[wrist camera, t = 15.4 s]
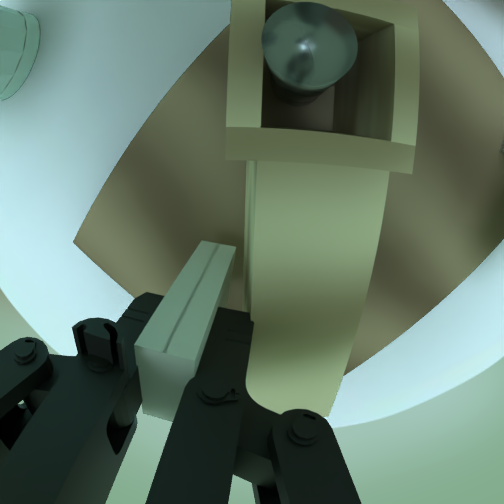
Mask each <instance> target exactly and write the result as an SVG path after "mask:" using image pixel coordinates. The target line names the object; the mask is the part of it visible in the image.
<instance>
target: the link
mask: <svg viewBox="0 0 504 504" xmlns="http://www.w3.org/2000/svg"><path fill="white" fill-rule="evenodd" d="M297 2H314V3H319V4H323V5H326V6H328V7H330V8H332V9H334V10H336V11H337V12H338V13H340V14H341V15H342V16H343V17H344V18H346V20H347V21H348V22H349V23H350V25H351V26H352V28H353V30H354V32H355V34H356V37H357V42H358V52H357V57H356V60H355V62H354V64H353V66H352V67H351V69H350V70H349V71H348V72H347V73H346V74H345V75H343V76H342V77H341V78H340V79H339V80H338V81H336V82H335V97H334V116H333V131H324V130H314V129H302V128H289V127H273V126H261V107H262V81H263V55H264V52H263V48H262V43H261V36H262V31H263V28H264V25H265V23H266V21H267V20H268V19H269V17H270V16H271V15H272V14H273V13H274V12H275V11H277V10H278V9H280V8H282V7H283V6H286V5H288V4H292V3H297ZM419 82H420V53H419V28H418V14H417V9H415V8H413V7H410V6H407V5H405V4H402V3H399V2H396V1H393V0H231V17H230V35H229V56H228V80H227V108H226V146H225V160H247V162H246V194H245V228H244V264H243V305H242V311H244V312H249V313H250V319H251V321H253V322H254V328H253V335H252V342H251V348H250V355H249V362H248V368H247V375H246V388H247V391H248V393H249V395H250V396H251V398H252V399H253V400H254V401H255V402H257V403H258V404H259V405H261V406H263V407H265V408H266V409H269V410H271V411H274V412H276V413H278V414H282V413H283V412H285V411H288V410H292V409H308V410H310V411H313V412H316V413H318V414H319V415H321V416H322V417H327V416H329V414H330V411H331V408H332V406H333V403H334V400H335V398H336V395H337V392H338V389H339V386H340V383H341V381H342V378H343V375H344V372H345V369H346V366H347V362H348V359H349V356H350V353H351V350H352V346H353V343H354V340H355V336H356V333H357V329H358V326H359V322H360V319H361V315H362V311H363V307H364V304H365V300H366V296H367V292H368V288H369V283H370V279H371V275H372V270H373V266H374V261H375V256H376V252H377V247H378V242H379V236H380V231H381V226H382V220H383V214H384V208H385V201H386V195H387V188H388V181H389V173H390V171H392V172H399V173H406V174H412V172H413V164H414V156H415V146H416V136H417V124H418V109H419Z"/></svg>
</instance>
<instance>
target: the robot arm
mask: <svg viewBox="0 0 504 504" xmlns="http://www.w3.org/2000/svg"><path fill="white" fill-rule="evenodd" d="M235 251H236V247H234V246H229V245H223V244H218V243H213V242H207V241H201V242H200V244H199V245H198V247H197V248H196V250H195V251H194V253H193V254H192V256H191V257H190V259H189V260H188V262H187V263H186V265H185V266H184V268H183V269H182V271H181V272H180V274H179V275H178V277H177V278H176V280H175V281H174V283H173V284H172V286H171V287H170V289H169V290H168V292H167V293H166V295H165V296H163V295H158V294H154V293H150V292H145V293H144V294H142V295H140V296H138V297H136V298H135V299H134V300H133V301H132V303H131V304H130V305H129V307H128V309H126V310H125V312H124V313H123V314H122V317H120V318H119V320H118V321H117V322H116V323H115V322H113V321H111V320H109V319H104V318H89V319H86V320H83V321H80V322H78V323H77V324H76V325H74V326H73V327H72V330H73V334H74V339H75V343H76V347H77V351H78V354H77V356H63V355H54V354H49V352H48V349H47V346H46V345H45V344H44V342H43V341H41V340H39V339H37V338H32V337H25V338H20V339H18V340H16V341H14V342H12V343H10V344H9V345H8V346H6V347H5V348H3V349H2V350H0V504H105V503H106V500H107V498H108V495H109V493H110V490H111V488H112V486H113V483H114V481H115V478H116V475H117V473H118V471H119V468H120V466H121V463H122V461H123V459H124V457H125V454H126V452H127V449H128V447H129V444H130V442H131V440H132V438H133V435H134V433H135V431H136V428H137V418H136V414H137V412H138V410H139V408H140V405H141V403H142V409H143V413H144V414H147V415H151V416H154V417H158V418H161V419H165V420H168V421H172V422H173V423H172V426H171V429H170V432H169V435H168V438H167V440H166V443H165V446H164V449H163V453H162V455H161V458H160V461H159V464H158V467H157V470H156V473H155V476H154V479H153V482H152V485H151V488H150V491H149V494H148V498H147V501H146V503H145V504H228V501H229V494H230V487H231V482H232V475H233V474H234V475H236V476H238V477H240V478H242V479H244V480H247V481H249V482H251V483H252V487H253V492H254V498H255V503H256V504H361V501H360V499H359V496H358V493H357V491H356V488H355V486H354V483H353V481H352V478H351V476H350V473H349V470H348V468H347V465H346V463H345V460H344V458H343V455H342V453H341V450H340V447H339V445H338V443H337V440H336V438H335V435H334V432H333V430H332V428H331V426H330V425H329V423H328V422H327V420H326V419H325V418H323V417H322V416H321V415H319V414H318V413H316V412H313V411H310V410H308V409H292V410H288V411H285V412H283V413H282V414H278V413H276V412H274V411H271V410H269V409H266V408H265V407H263V406H261V405H259V404H258V403H257V402H255V401H254V400H253V399H252V398H251V396H250V395H249V393H248V391H247V388H246V375H247V368H248V362H249V355H250V348H251V342H252V335H253V328H254V322H253V321H251V319H250V313H249V312H244V311H238V310H233V309H228V308H226V307H227V304H228V298H229V291H230V284H231V278H232V271H233V264H234V258H235ZM22 400H23V401H24V403H23V404H18V403H19V402H21V401H22Z"/></svg>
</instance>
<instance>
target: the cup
mask: <svg viewBox="0 0 504 504" xmlns="http://www.w3.org/2000/svg"><path fill="white" fill-rule="evenodd" d="M39 40H40V27H39V23H38V21H37V19H36V17H35V16H33V15H32V14H29V13H24V12H20V11H16V10H13V9H10V8H7V7H3V6H0V100H4V99H7V98H9V97H10V96H12V95H13V94H14V93H15V92H16V91H17V90H18V89H19V88H20V87H21V85H22V84H23V83H24V81H25V79H26V78H27V76H28V74H29V72H30V70H31V68H32V66H33V63H34V61H35V58H36V55H37V51H38V47H39Z"/></svg>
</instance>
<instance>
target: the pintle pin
mask: <svg viewBox="0 0 504 504" xmlns="http://www.w3.org/2000/svg"><path fill="white" fill-rule="evenodd" d="M261 43H262V48H263V52H264V55H265V59H266V62H267V65H268V69H269V72H270V76H271V79H272V83H273V87H274V90H275V92H276V94H277V96H278V97H279V98H280V99H281V100H282V101H284V102H285V103H287V104H290V105H293V106H304V105H308V104H310V103H312V102H313V101H315V100H316V99H317V98H318V97H319V96H320V95H321V94H323V93H324V92H325V91H326V90H327V89H328V88H329V87H331V86H332V85H333V84H334V83H335V82H336V81H338V80H339V79H340V78H341V77H342V76H343V75H345V74H346V73H347V72H348V71H349V70H350V69H351V67H352V66H353V64H354V62H355V60H356V57H357V52H358V42H357V37H356V34H355V32H354V30H353V28H352V26H351V25H350V23H349V22H348V21H347V20H346V18H344V17H343V16H342V15H341V14H340V13H338V12H337V11H336V10H334V9H332V8H330V7H328V6H326V5H323V4H319V3H314V2H297V3H292V4H288V5H286V6H283V7H282V8H280V9H278V10H277V11H275V12H274V13H273V14H272V15H271V16H270V17H269V19H268V20H267V21H266V23H265V25H264V28H263V31H262V36H261Z"/></svg>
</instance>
